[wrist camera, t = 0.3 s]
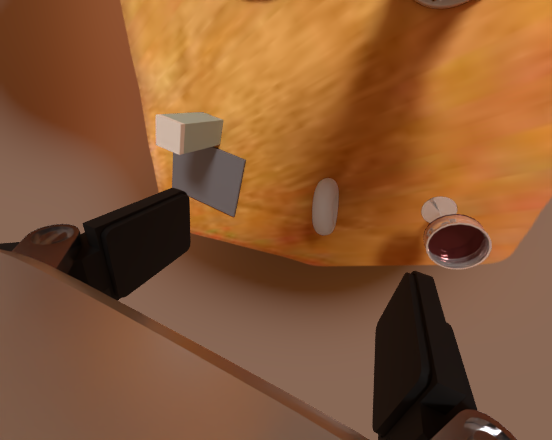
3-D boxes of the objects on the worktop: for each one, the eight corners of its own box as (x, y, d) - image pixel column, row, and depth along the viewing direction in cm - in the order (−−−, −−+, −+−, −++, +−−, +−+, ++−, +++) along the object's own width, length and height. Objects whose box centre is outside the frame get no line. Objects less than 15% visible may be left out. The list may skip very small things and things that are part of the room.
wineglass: (408, 222, 42) (416, 259, 32) (425, 186, 39) (439, 215, 29) (451, 234, 40) (474, 277, 30) (472, 197, 37) (505, 232, 27)
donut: (339, 222, 47) (330, 247, 39) (322, 220, 48) (309, 244, 40) (341, 171, 43) (331, 188, 35) (322, 171, 44) (308, 187, 36)
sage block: (202, 112, 49) (155, 114, 39) (223, 120, 48) (180, 124, 38) (200, 136, 51) (155, 144, 41) (220, 144, 50) (179, 154, 40)
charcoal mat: (175, 131, 53) (174, 131, 53) (245, 160, 49) (244, 160, 49) (173, 187, 60) (172, 188, 60) (234, 216, 57) (233, 217, 56)
